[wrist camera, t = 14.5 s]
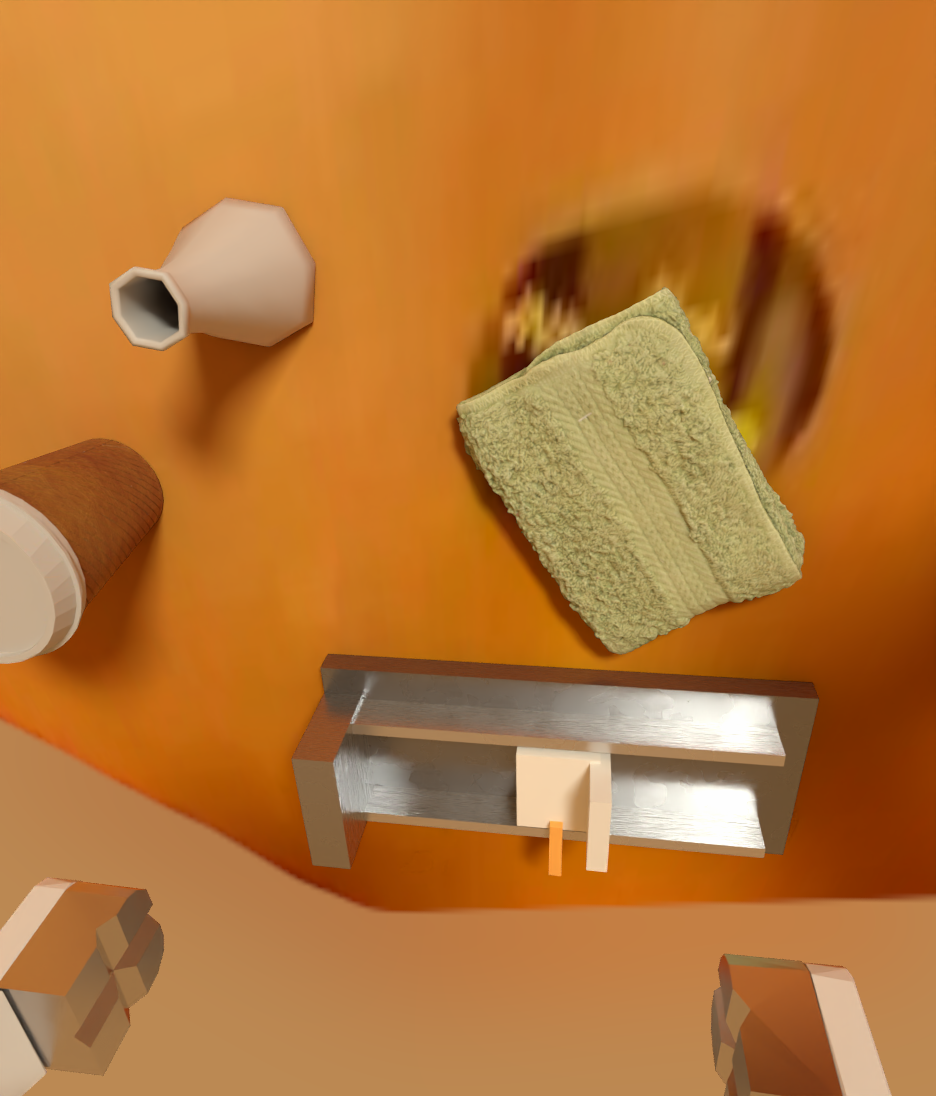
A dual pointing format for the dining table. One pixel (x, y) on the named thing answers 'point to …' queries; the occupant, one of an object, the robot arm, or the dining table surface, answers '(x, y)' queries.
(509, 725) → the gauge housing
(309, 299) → the flask
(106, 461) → the disposable coffee cup
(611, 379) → the washcloth
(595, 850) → the cream corner bracket
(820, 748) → the dining table surface
